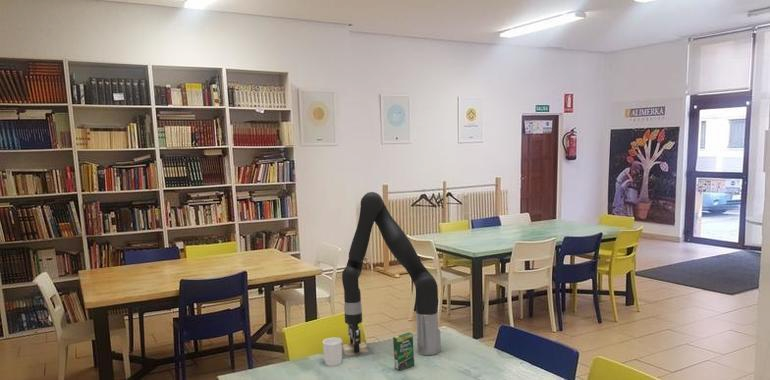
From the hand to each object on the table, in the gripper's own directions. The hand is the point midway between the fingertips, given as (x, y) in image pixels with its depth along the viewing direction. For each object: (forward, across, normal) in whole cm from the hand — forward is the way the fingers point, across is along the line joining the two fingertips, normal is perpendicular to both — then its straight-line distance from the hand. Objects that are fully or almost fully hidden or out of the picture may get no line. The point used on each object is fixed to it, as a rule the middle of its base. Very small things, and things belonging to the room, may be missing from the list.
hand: (354, 349), depth 210 cm
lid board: (+1, 0, 0) cm, 1 cm away
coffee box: (+2, -22, -15) cm, 27 cm away
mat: (+2, 0, 0) cm, 2 cm away
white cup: (+2, -8, +11) cm, 14 cm away
